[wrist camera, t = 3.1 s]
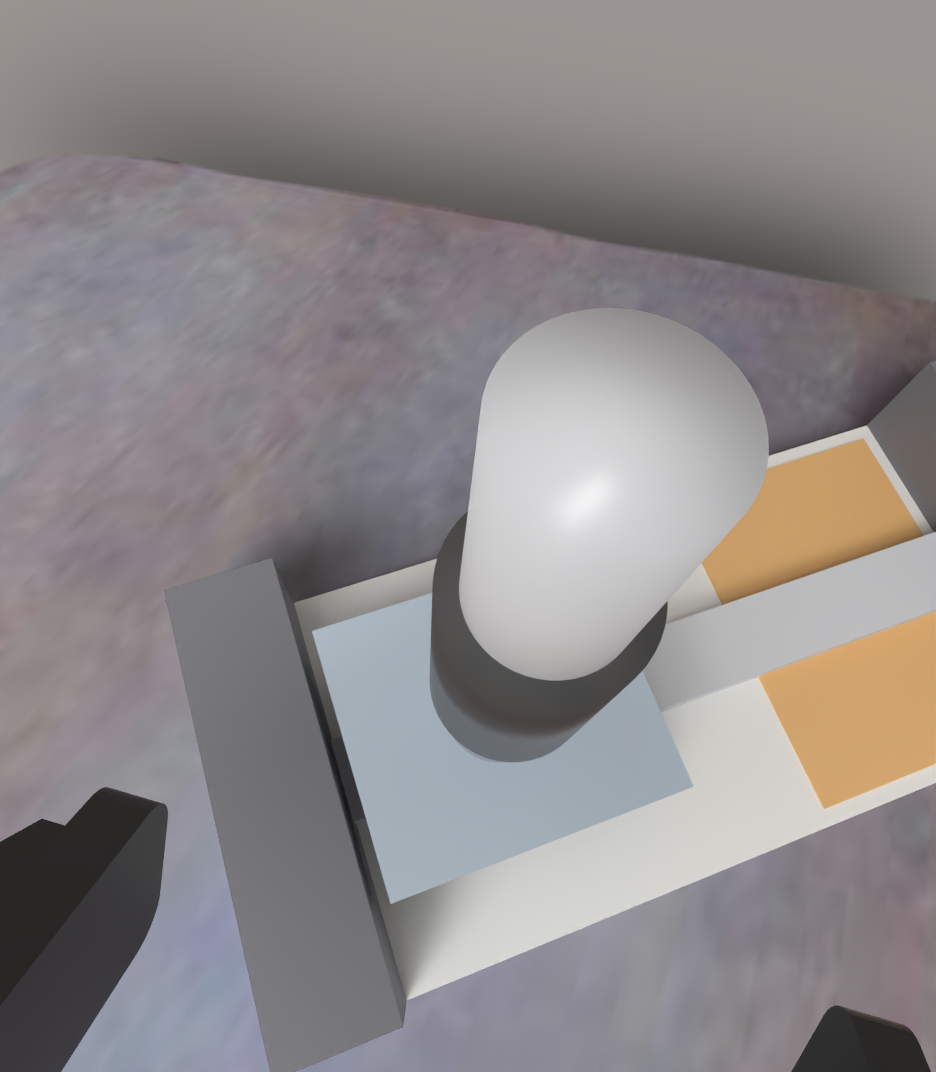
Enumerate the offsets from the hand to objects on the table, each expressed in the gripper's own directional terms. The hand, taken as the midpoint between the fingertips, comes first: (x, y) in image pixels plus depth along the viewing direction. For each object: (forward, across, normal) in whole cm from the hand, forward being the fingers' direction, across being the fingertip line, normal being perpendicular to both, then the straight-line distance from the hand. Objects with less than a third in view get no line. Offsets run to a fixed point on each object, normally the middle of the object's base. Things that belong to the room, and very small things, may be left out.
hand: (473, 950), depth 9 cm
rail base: (+17, -5, +5) cm, 19 cm away
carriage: (+13, 0, +6) cm, 14 cm away
